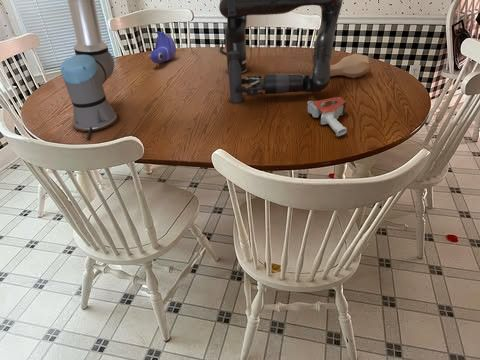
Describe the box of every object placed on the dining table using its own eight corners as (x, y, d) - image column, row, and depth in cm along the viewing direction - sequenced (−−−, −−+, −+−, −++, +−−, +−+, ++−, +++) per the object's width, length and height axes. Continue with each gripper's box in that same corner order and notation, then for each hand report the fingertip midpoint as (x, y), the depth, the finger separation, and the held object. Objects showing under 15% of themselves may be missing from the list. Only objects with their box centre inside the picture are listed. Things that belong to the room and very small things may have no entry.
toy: (164, 63, 199) (144, 69, 176) (159, 31, 192) (138, 32, 170) (181, 62, 196) (162, 68, 174) (177, 30, 190) (157, 31, 167)
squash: (372, 78, 155) (374, 59, 148) (326, 86, 156) (326, 68, 150) (365, 66, 162) (367, 47, 156) (321, 74, 164) (321, 56, 157)
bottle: (244, 98, 144) (242, 52, 133) (239, 103, 141) (236, 56, 130) (233, 97, 146) (230, 51, 135) (228, 101, 142) (224, 55, 131)
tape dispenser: (341, 143, 115) (361, 114, 127) (344, 129, 111) (364, 101, 124) (292, 129, 122) (315, 103, 135) (293, 115, 119) (316, 90, 131)
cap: (241, 57, 134) (241, 51, 133) (236, 60, 131) (236, 54, 130) (231, 56, 136) (231, 50, 134) (226, 59, 133) (225, 53, 131)
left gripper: (216, -40, 125) (221, 26, 138) (216, -33, 105) (222, 43, 118) (237, -41, 125) (240, 24, 138) (242, -34, 106) (245, 41, 118)
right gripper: (275, 68, 143) (235, 70, 143) (278, 81, 131) (234, 83, 132) (275, 86, 147) (236, 88, 148) (278, 100, 136) (235, 102, 136)
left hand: (232, 33), depth 128 cm, fingers open, 12 cm apart
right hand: (235, 85), depth 140 cm, fingers open, 8 cm apart
